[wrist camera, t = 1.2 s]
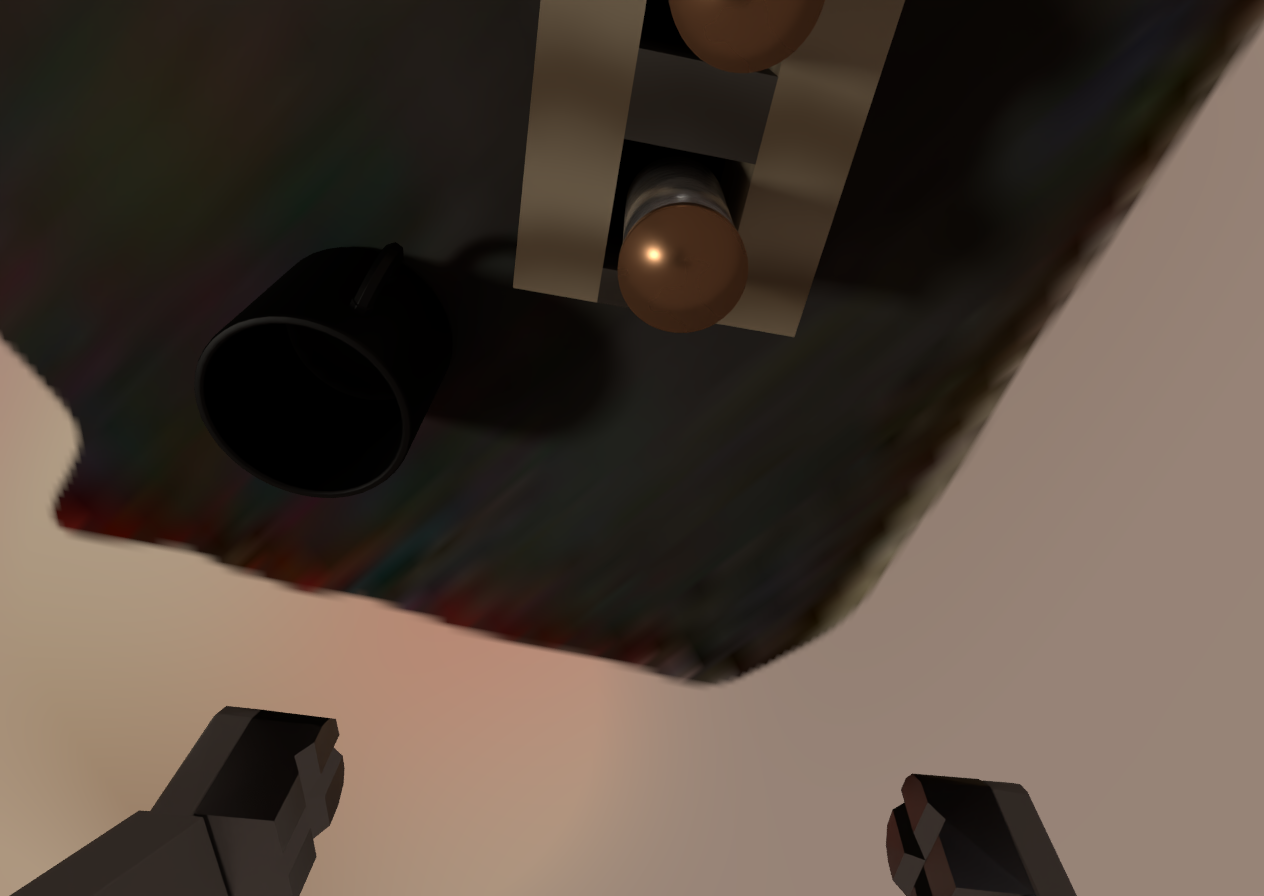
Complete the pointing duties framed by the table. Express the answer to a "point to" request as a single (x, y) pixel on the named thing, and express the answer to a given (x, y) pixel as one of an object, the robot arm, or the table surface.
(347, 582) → the table surface
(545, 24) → the oak block
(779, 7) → the copper domed cylinder
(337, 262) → the mug
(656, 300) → the cylinder
